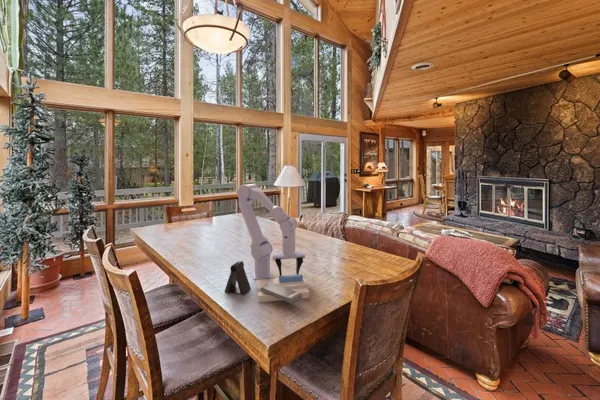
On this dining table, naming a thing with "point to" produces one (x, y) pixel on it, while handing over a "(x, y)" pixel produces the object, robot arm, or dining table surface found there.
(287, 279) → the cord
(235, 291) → the black folding stand
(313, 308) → the dining table surface
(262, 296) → the duct deck
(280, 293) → the cover
